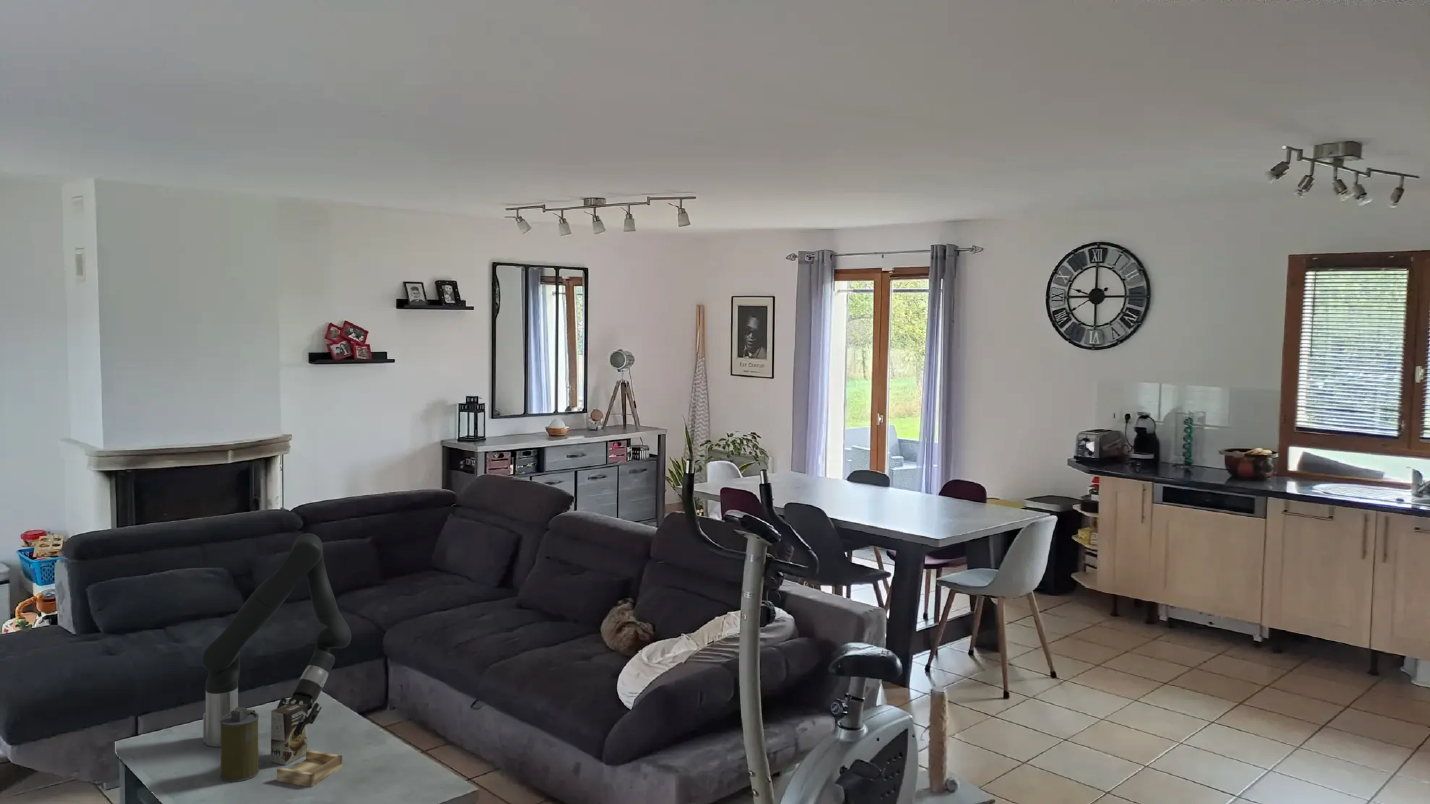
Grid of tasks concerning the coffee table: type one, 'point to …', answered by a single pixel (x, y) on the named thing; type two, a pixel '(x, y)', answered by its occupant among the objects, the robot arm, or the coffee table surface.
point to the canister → (239, 745)
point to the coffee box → (288, 733)
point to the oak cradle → (311, 769)
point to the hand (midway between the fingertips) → (286, 733)
